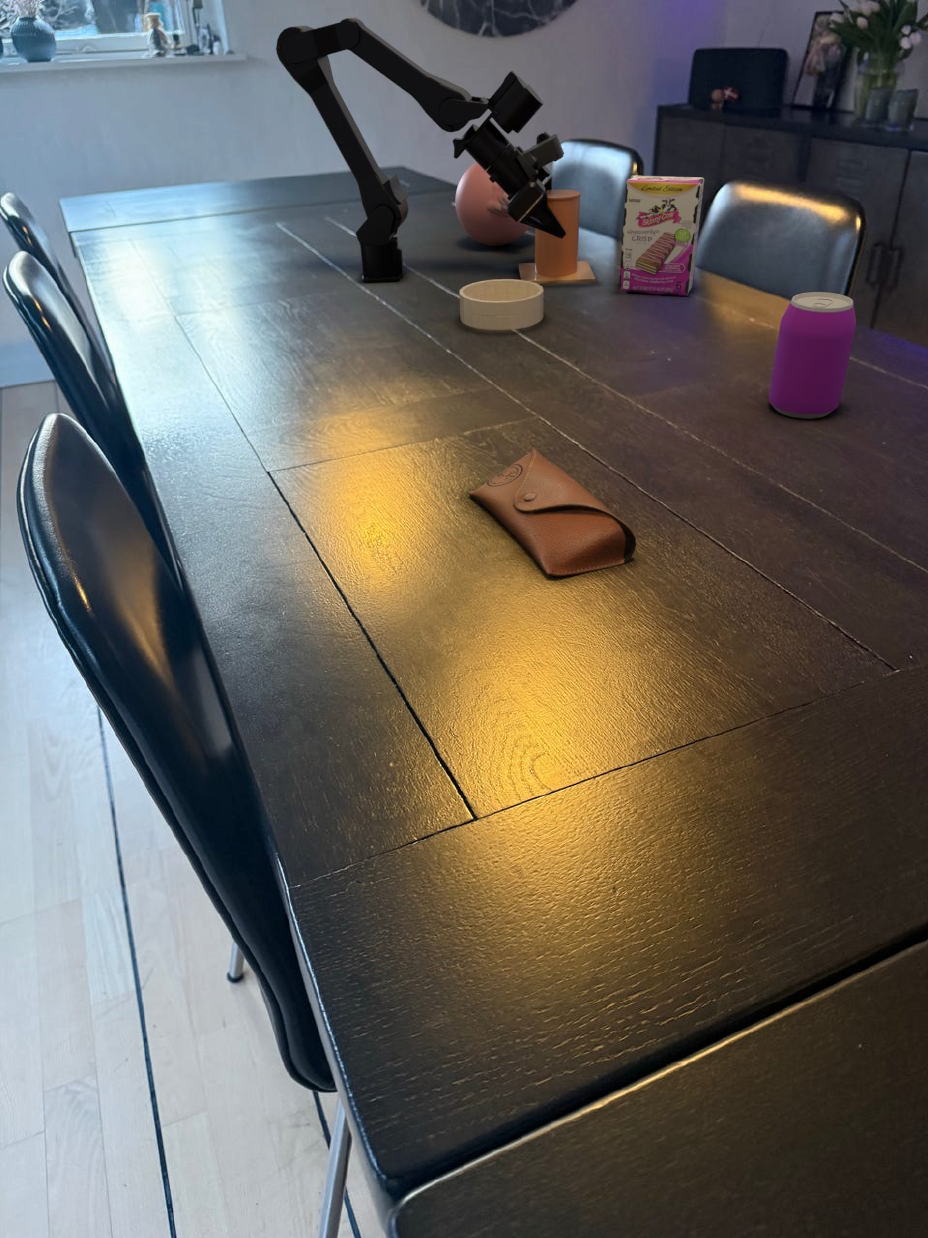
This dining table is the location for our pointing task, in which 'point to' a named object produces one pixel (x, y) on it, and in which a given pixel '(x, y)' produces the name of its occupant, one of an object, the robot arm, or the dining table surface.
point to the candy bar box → (660, 234)
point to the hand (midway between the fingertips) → (565, 229)
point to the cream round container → (501, 304)
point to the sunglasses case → (556, 518)
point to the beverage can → (812, 354)
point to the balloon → (485, 209)
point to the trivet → (581, 275)
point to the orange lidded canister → (554, 251)
